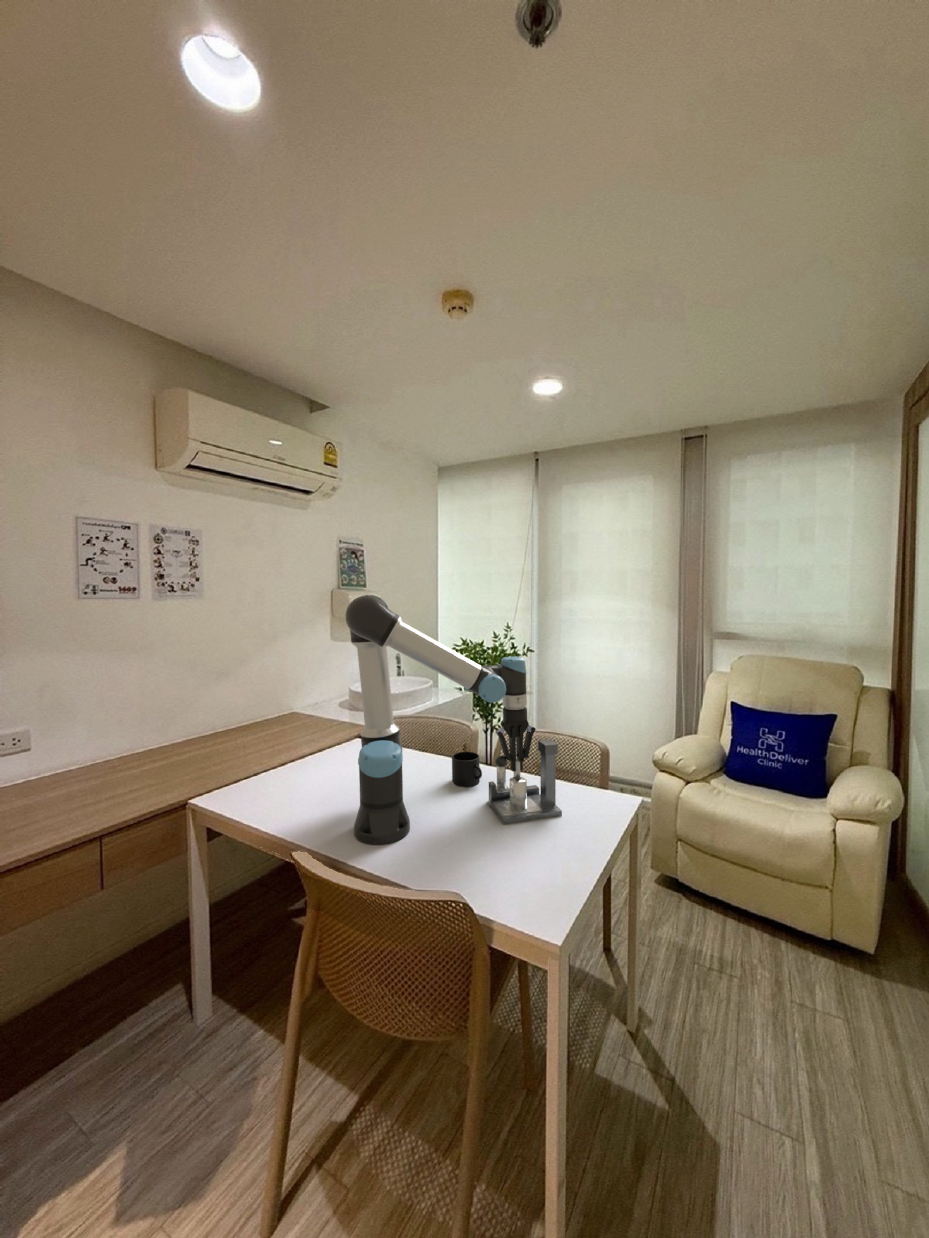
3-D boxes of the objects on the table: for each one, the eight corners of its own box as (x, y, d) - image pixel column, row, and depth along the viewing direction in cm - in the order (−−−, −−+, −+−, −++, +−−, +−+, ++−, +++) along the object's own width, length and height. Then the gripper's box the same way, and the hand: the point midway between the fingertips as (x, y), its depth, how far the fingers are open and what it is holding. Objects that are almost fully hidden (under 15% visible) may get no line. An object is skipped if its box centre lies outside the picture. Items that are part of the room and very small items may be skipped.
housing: (513, 811, 139) (513, 779, 138) (507, 803, 144) (507, 772, 143) (529, 808, 140) (529, 777, 140) (522, 801, 145) (522, 770, 145)
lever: (497, 793, 147) (497, 758, 147) (493, 788, 151) (493, 754, 150) (509, 791, 149) (509, 757, 148) (505, 787, 152) (505, 753, 151)
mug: (472, 792, 157) (471, 764, 156) (446, 782, 165) (446, 756, 164) (491, 783, 163) (490, 757, 163) (465, 774, 172) (465, 749, 171)
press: (503, 824, 135) (503, 754, 133) (485, 801, 150) (485, 738, 149) (563, 815, 140) (563, 747, 139) (540, 793, 155) (539, 732, 154)
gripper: (499, 711, 144) (502, 788, 146) (538, 707, 148) (540, 782, 149) (491, 706, 151) (494, 778, 153) (528, 701, 155) (530, 773, 156)
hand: (517, 780), depth 151 cm, fingers closed
